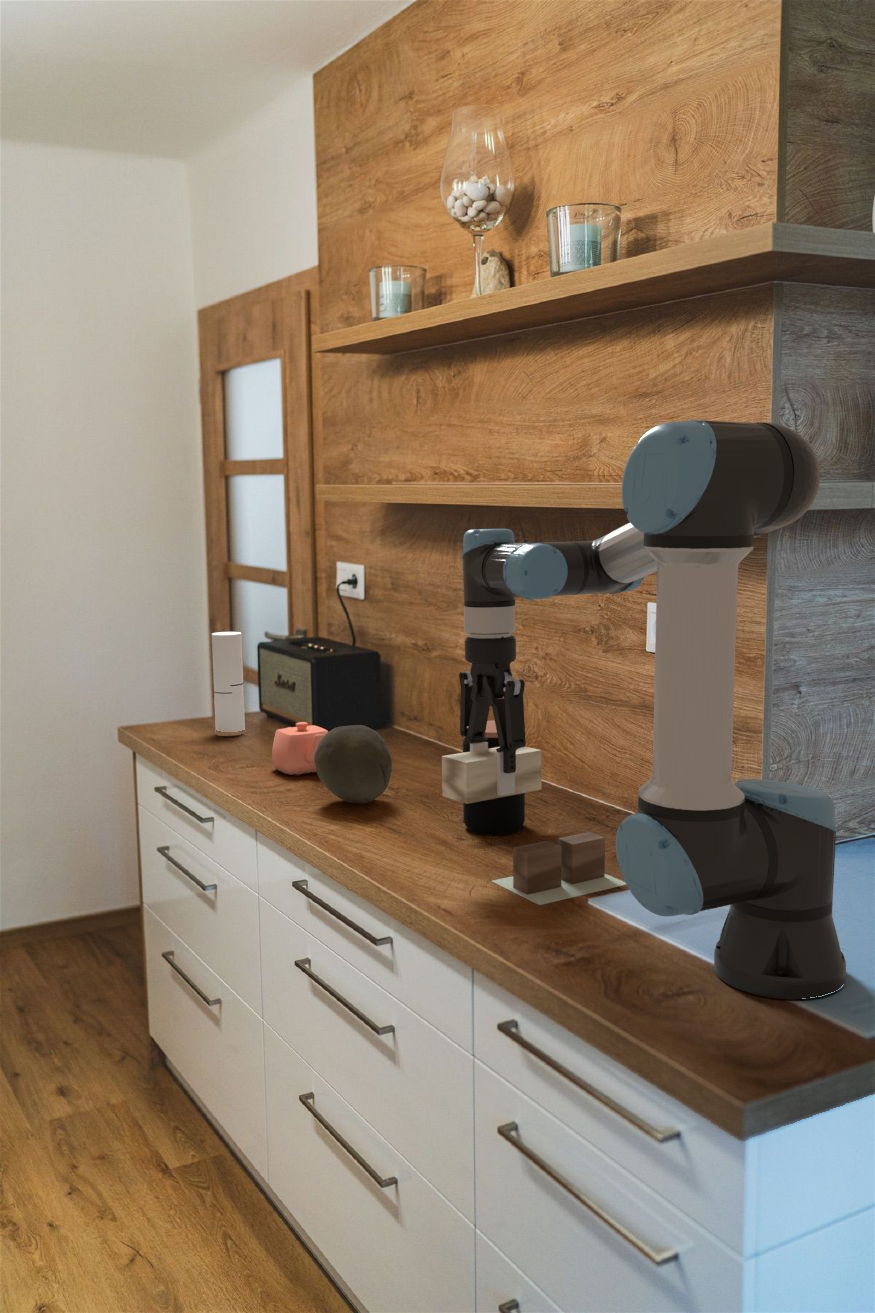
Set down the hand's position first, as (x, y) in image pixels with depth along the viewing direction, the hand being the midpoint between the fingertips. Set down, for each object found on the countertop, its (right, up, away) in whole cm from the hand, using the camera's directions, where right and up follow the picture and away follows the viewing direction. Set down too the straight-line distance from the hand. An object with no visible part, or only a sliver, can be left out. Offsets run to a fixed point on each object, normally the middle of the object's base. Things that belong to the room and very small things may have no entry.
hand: (492, 789), depth 171 cm
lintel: (0, -1, 0) cm, 1 cm away
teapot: (-36, -5, +73) cm, 82 cm away
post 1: (+6, -14, -5) cm, 16 cm away
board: (+10, -14, -3) cm, 18 cm away
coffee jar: (+2, -10, +29) cm, 31 cm away
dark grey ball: (-24, -8, +47) cm, 53 cm away
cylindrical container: (-59, 0, +112) cm, 127 cm away
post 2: (+13, -13, -1) cm, 18 cm away
